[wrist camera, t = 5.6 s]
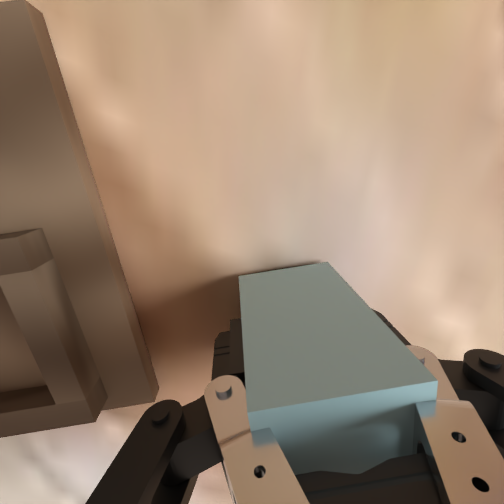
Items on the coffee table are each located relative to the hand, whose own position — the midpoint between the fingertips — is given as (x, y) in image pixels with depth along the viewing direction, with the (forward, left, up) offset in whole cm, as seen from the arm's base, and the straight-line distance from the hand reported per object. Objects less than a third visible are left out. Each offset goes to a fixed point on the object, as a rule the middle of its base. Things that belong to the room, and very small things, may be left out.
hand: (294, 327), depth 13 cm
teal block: (0, 0, -2) cm, 2 cm away
